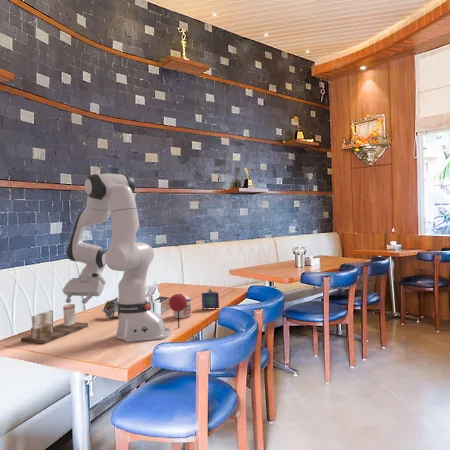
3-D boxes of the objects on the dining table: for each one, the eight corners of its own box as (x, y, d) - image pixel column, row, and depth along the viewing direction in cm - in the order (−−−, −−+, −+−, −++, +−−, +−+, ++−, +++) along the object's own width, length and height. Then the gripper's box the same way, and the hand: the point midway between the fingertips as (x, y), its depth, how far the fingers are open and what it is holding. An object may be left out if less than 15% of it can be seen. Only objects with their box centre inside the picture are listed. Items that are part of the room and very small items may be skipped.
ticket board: (67, 324, 191) (66, 302, 190) (88, 326, 186) (87, 303, 186) (20, 341, 165) (19, 315, 165) (43, 344, 161) (42, 317, 161)
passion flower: (109, 329, 200) (95, 310, 202) (123, 320, 210) (110, 301, 211) (122, 318, 195) (107, 299, 196) (135, 310, 205) (122, 291, 206)
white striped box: (71, 323, 186) (71, 303, 186) (75, 323, 186) (74, 304, 185) (63, 326, 182) (63, 306, 181) (67, 326, 181) (66, 306, 181)
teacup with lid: (186, 319, 194) (185, 295, 194) (169, 318, 198) (169, 294, 197) (197, 313, 205) (196, 290, 205) (181, 312, 209) (180, 290, 209)
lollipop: (190, 326, 180) (189, 293, 180) (179, 330, 174) (178, 296, 174) (177, 324, 185) (176, 292, 185) (166, 328, 178) (165, 295, 178)
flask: (201, 309, 214) (200, 289, 214) (202, 308, 217) (202, 288, 217) (218, 309, 212) (217, 289, 212) (219, 308, 215) (219, 288, 215)
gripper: (67, 274, 198) (54, 297, 189) (102, 274, 191) (90, 299, 182) (74, 281, 202) (61, 305, 193) (108, 282, 195) (96, 306, 186)
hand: (75, 302), depth 187 cm, fingers open, 8 cm apart
